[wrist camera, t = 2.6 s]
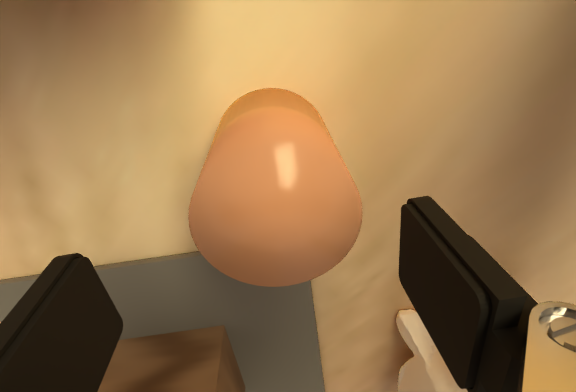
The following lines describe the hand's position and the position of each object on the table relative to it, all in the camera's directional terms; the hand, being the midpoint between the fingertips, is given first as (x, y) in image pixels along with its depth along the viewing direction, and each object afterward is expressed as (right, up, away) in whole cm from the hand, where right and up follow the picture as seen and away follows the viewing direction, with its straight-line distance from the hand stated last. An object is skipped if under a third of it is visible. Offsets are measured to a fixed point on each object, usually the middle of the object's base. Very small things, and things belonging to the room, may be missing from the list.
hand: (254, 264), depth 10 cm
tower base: (-7, -11, +15) cm, 19 cm away
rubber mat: (-7, -10, +15) cm, 19 cm away
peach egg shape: (0, +5, +7) cm, 8 cm away
